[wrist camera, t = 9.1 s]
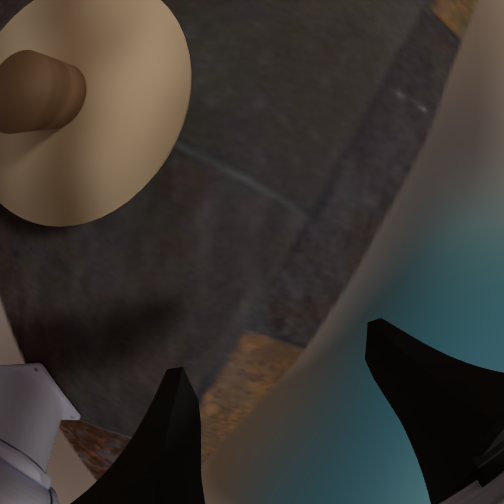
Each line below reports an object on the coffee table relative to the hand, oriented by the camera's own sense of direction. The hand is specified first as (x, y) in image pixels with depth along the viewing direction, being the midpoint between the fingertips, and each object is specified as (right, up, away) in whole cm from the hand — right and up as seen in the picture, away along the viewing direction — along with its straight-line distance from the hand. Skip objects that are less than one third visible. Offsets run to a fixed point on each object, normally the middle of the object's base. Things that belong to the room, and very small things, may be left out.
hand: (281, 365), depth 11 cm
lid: (-10, +11, 0) cm, 15 cm away
